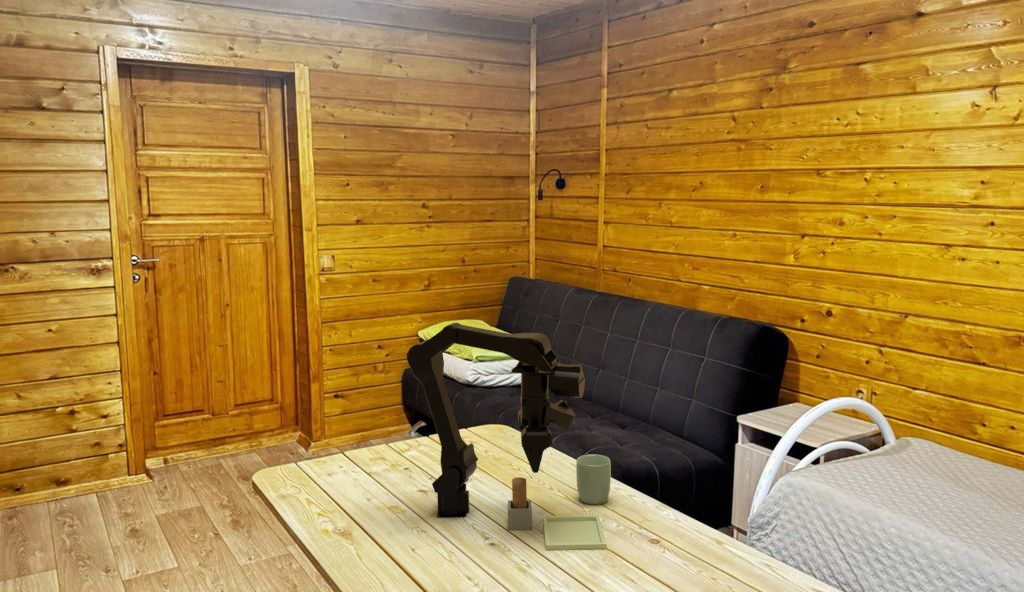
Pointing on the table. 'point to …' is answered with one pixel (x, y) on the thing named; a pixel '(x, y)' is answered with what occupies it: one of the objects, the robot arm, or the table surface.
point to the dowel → (519, 493)
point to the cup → (593, 478)
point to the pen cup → (519, 517)
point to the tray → (573, 532)
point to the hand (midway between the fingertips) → (534, 464)
